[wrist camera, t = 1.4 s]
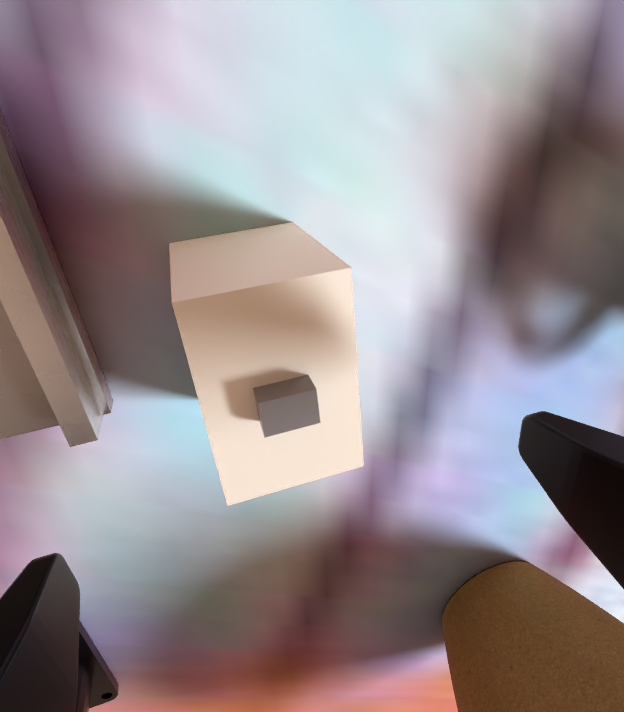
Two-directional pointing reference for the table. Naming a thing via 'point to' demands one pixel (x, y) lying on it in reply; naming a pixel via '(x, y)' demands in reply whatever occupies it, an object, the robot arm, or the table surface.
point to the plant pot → (531, 645)
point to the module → (270, 355)
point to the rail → (40, 324)
